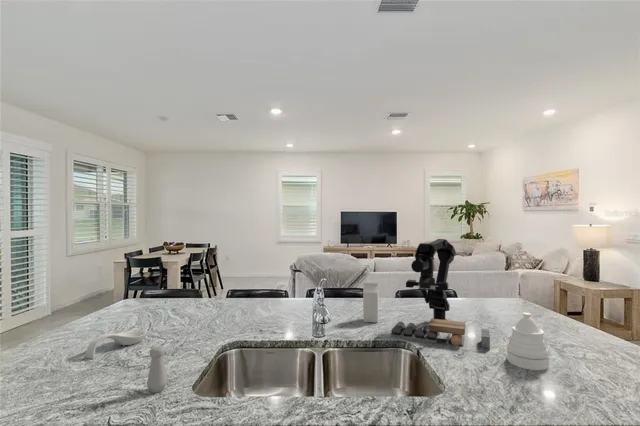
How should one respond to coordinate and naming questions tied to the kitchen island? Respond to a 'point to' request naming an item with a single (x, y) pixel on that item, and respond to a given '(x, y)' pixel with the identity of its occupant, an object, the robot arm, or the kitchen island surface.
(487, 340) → the block
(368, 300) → the milk carton
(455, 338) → the roller
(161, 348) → the salt shaker
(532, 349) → the honey pot
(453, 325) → the slab
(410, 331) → the track
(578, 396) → the kitchen island surface
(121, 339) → the spoon rest
